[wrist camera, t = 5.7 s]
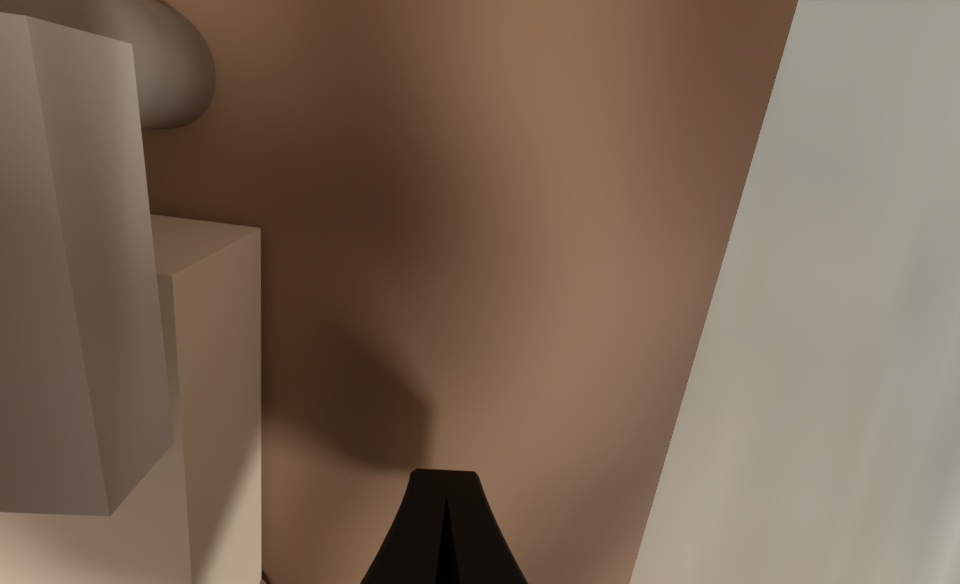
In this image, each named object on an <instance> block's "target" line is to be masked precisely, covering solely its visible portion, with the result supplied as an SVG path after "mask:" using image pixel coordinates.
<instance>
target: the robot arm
mask: <svg viewBox="0 0 960 584" xmlns="http://www.w3.org/2000/svg"><path fill="white" fill-rule="evenodd" d="M360 584H528V582H527V580H526V579H525V577H524V575H523V573H522V571H521V569H520V568H519V566H518V564H517V562H516V560H515V558H514V556H513V554H512V552H511V550H510V548H509V546H508V544H507V542H506V540H505V539H504V537H503V534H502V532H501V530H500V528H499V526H498V524H497V522H496V519H495V517H494V515H493V513H492V510H491V508H490V506H489V503H488V501H487V498H486V495H485V493H484V490H483V487H482V484H481V481H480V478H479V476H478V475H477V473H476V472H475V471H460V470H440V469H420V468H416V469H415V470H413V471H412V472H411V473H410V477H409V482H408V485H407V488H406V491H405V494H404V497H403V500H402V502H401V505H400V507H399V509H398V512H397V514H396V516H395V519H394V521H393V523H392V525H391V527H390V529H389V531H388V533H387V535H386V537H385V539H384V541H383V543H382V545H381V547H380V549H379V551H378V553H377V555H376V557H375V558H374V560H373V562H372V564H371V565H370V567H369V569H368V571H367V572H366V574H365V576H364V578H363V579H362V581H361V583H360Z"/></svg>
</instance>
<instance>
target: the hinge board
mask: <svg viewBox="0 0 960 584" xmlns="http://www.w3.org/2000/svg"><path fill="white" fill-rule="evenodd" d="M797 3H798V0H0V512H10V513H36V514H62V515H88V516H111V514H112V513H113V512H114V511H115V510H116V509H117V508H118V506H119V505H120V504H121V503H122V502H123V501H124V499H125V498H126V497H127V496H128V495H129V494H130V493H131V491H132V490H133V489H134V488H135V487H136V486H137V485H138V483H139V482H140V481H141V480H142V479H143V478H144V476H145V475H146V474H147V473H148V472H149V471H150V470H151V468H152V467H153V466H154V465H155V464H156V463H157V461H158V460H159V459H160V458H161V457H162V456H163V455H164V453H165V452H166V451H167V450H168V449H169V448H170V446H171V445H172V444H173V443H174V435H173V426H172V416H171V407H170V398H169V388H168V379H167V369H166V360H165V350H164V341H163V331H162V322H161V313H160V303H159V294H158V284H157V275H156V265H155V256H154V246H153V237H152V227H151V218H150V214H153V215H161V216H169V217H177V218H185V219H193V220H201V221H209V222H217V223H225V224H233V225H241V226H249V227H257V228H261V579H263V580H264V581H265V582H266V583H267V584H360V583H361V581H362V579H363V578H364V576H365V574H366V572H367V571H368V569H369V567H370V565H371V564H372V562H373V560H374V558H375V557H376V555H377V553H378V551H379V549H380V547H381V545H382V543H383V541H384V539H385V537H386V535H387V533H388V531H389V529H390V527H391V525H392V523H393V521H394V519H395V516H396V514H397V512H398V509H399V507H400V505H401V502H402V500H403V497H404V494H405V491H406V488H407V485H408V482H409V477H410V473H411V472H412V471H413V470H415V469H416V468H420V469H440V470H460V471H475V472H476V473H477V475H478V476H479V478H480V481H481V484H482V487H483V490H484V493H485V495H486V498H487V501H488V503H489V506H490V508H491V510H492V513H493V515H494V517H495V519H496V522H497V524H498V526H499V528H500V530H501V532H502V534H503V537H504V539H505V540H506V542H507V544H508V546H509V548H510V550H511V552H512V554H513V556H514V558H515V560H516V562H517V564H518V566H519V568H520V569H521V571H522V573H523V575H524V577H525V579H526V580H527V582H528V584H629V582H630V579H631V575H632V572H633V568H634V565H635V561H636V558H637V555H638V551H639V548H640V544H641V541H642V537H643V534H644V530H645V527H646V523H647V520H648V517H649V513H650V510H651V506H652V503H653V499H654V496H655V492H656V489H657V486H658V482H659V479H660V475H661V472H662V468H663V465H664V461H665V458H666V454H667V451H668V448H669V444H670V441H671V437H672V434H673V430H674V427H675V423H676V420H677V417H678V413H679V410H680V406H681V403H682V399H683V396H684V392H685V389H686V385H687V382H688V379H689V375H690V372H691V368H692V365H693V361H694V358H695V354H696V351H697V348H698V344H699V341H700V337H701V334H702V330H703V327H704V323H705V320H706V317H707V313H708V310H709V306H710V303H711V299H712V296H713V292H714V289H715V285H716V282H717V279H718V275H719V272H720V268H721V265H722V261H723V258H724V254H725V251H726V248H727V244H728V241H729V237H730V234H731V230H732V227H733V223H734V220H735V216H736V213H737V210H738V206H739V203H740V199H741V196H742V192H743V189H744V185H745V182H746V179H747V175H748V172H749V168H750V165H751V161H752V158H753V154H754V151H755V148H756V144H757V141H758V137H759V134H760V130H761V127H762V123H763V120H764V116H765V113H766V110H767V106H768V103H769V99H770V96H771V92H772V89H773V85H774V82H775V79H776V75H777V72H778V68H779V65H780V61H781V58H782V54H783V51H784V47H785V44H786V41H787V37H788V34H789V30H790V27H791V23H792V20H793V16H794V13H795V10H796V6H797Z"/></svg>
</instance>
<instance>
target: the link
mask: <svg viewBox="0 0 960 584" xmlns="http://www.w3.org/2000/svg"><path fill="white" fill-rule="evenodd" d="M150 218H151V227H152V237H153V246H154V256H155V265H156V275H157V284H158V294H159V303H160V313H161V322H162V331H163V341H164V350H165V360H166V369H167V379H168V388H169V398H170V407H171V416H172V426H173V435H174V443H173V444H172V445H171V446H170V448H169V449H168V450H167V451H166V452H165V453H164V455H163V456H162V457H161V458H160V459H159V460H158V461H157V463H156V464H155V465H154V466H153V467H152V468H151V470H150V471H149V472H148V473H147V474H146V475H145V476H144V478H143V479H142V480H141V481H140V482H139V483H138V485H137V486H136V487H135V488H134V489H133V490H132V491H131V493H130V494H129V495H128V496H127V497H126V498H125V499H124V501H123V502H122V503H121V504H120V505H119V506H118V508H117V509H116V510H115V511H114V512H113V513H112V514H111V516H88V515H62V514H36V513H10V512H0V584H267V583H266V582H265V581H264V580H263V579H261V228H257V227H249V226H241V225H233V224H225V223H217V222H209V221H201V220H193V219H185V218H177V217H169V216H161V215H153V214H150Z"/></svg>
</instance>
